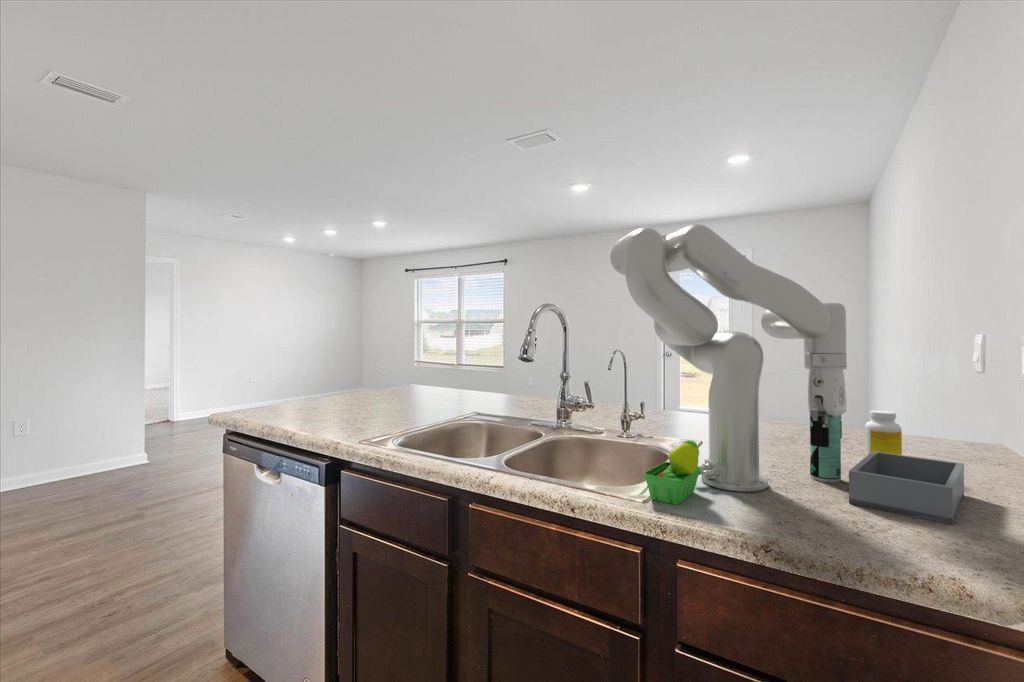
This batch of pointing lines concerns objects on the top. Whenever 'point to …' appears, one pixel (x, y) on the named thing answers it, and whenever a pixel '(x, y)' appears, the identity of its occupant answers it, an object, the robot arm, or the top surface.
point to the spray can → (827, 455)
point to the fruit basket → (675, 475)
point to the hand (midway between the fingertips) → (826, 442)
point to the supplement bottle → (883, 433)
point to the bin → (908, 486)
